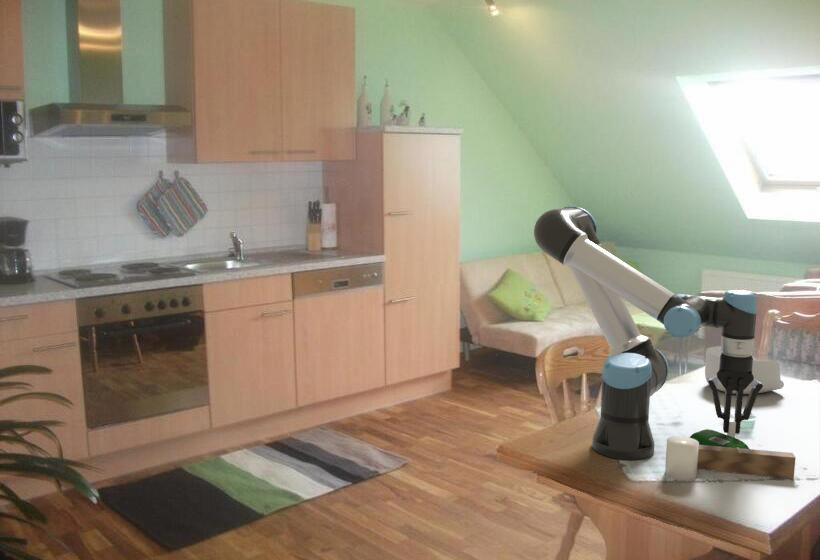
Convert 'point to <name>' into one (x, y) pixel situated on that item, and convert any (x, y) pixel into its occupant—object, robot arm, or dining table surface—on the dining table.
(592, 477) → the dining table surface
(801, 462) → the dining table surface
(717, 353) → the bowl
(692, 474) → the white tall rounded block
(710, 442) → the snack package
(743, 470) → the batten
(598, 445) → the robot arm
